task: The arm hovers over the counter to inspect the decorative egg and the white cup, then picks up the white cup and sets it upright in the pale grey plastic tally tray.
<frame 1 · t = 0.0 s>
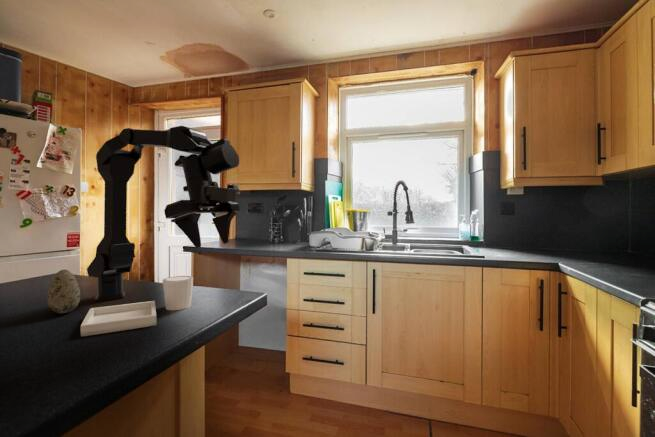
hand: (213, 245, 77), 15 cm above the countertop, tool pointing down, fingers open, 9 cm apart
decorative egg: (64, 313, 77), on the countertop
white cup: (178, 307, 81), on the countertop
tally tray: (122, 321, 71), on the countertop
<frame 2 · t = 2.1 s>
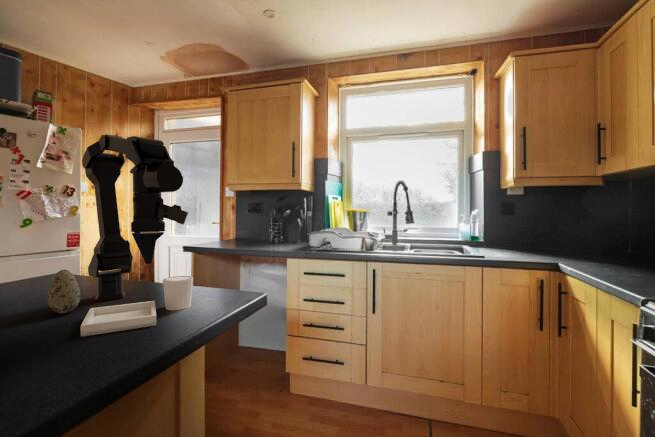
hand: (148, 260, 77), 12 cm above the countertop, tool pointing down, fingers open, 9 cm apart
nothing on the countertop moved.
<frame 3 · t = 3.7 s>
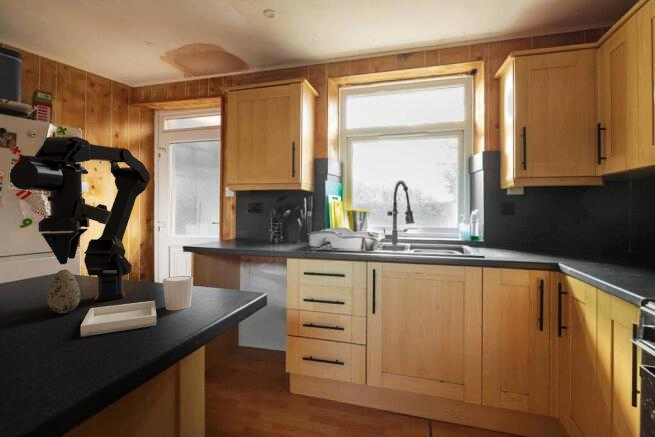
hand: (67, 261, 76), 12 cm above the countertop, tool pointing down, fingers open, 9 cm apart
nothing on the countertop moved.
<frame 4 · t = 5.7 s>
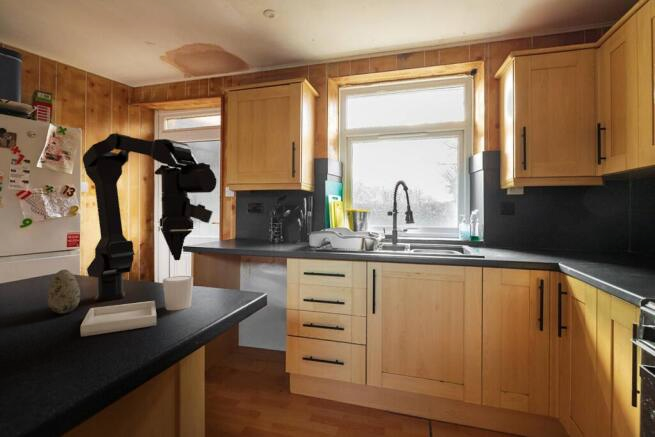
hand: (175, 257, 81), 12 cm above the countertop, tool pointing down, fingers open, 9 cm apart
nothing on the countertop moved.
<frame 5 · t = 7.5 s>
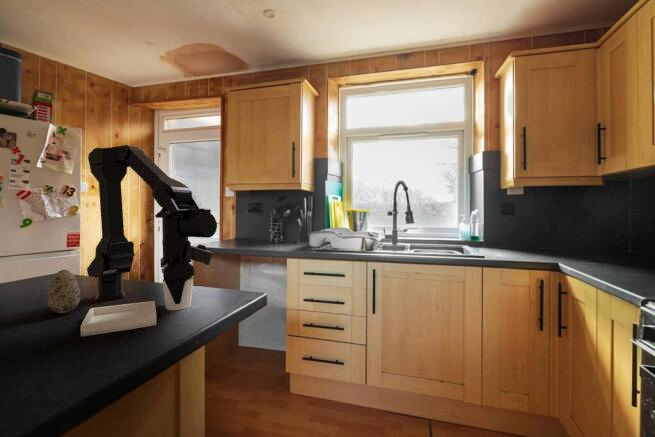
hand: (176, 300, 81), 2 cm above the countertop, tool pointing down, fingers open, 7 cm apart
white cup: (178, 307, 81), on the countertop, touching gripper
everything else where it was.
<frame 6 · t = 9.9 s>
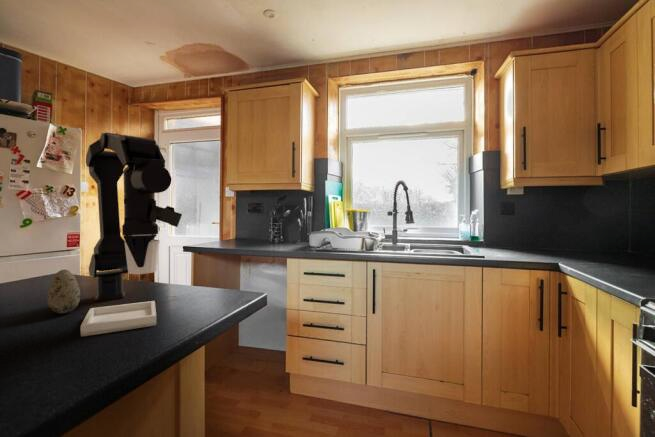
hand: (140, 264, 74), 11 cm above the countertop, tool pointing down, fingers closed on white cup, 6 cm apart
white cup: (142, 272, 74), point 10 cm above the countertop, touching gripper
everything else where it was.
when the fingers open (4 cm above the countertop, at t = 12.1 s): white cup drops 1 cm, resting on tally tray.
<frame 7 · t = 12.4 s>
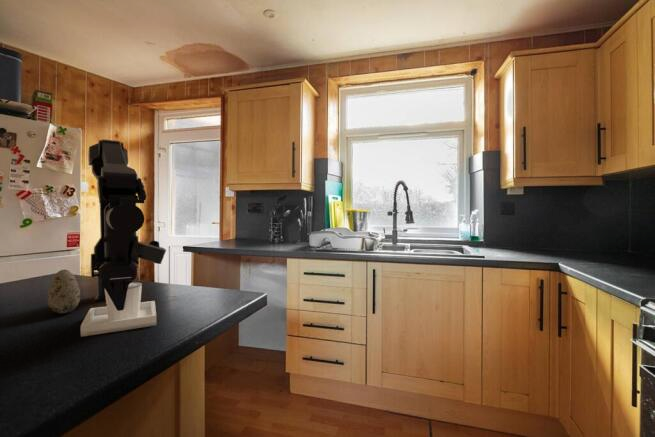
hand: (121, 304, 71), 4 cm above the countertop, tool pointing down, fingers open, 9 cm apart
white cup: (124, 318, 71), resting on tally tray
everything else where it was.
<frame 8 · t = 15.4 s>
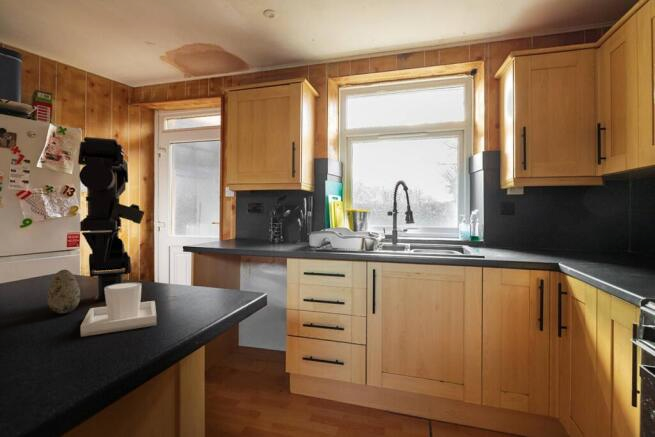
hand: (103, 260, 77), 12 cm above the countertop, tool pointing down, fingers open, 9 cm apart
nothing on the countertop moved.
at the end: white cup 0.4 cm off-centre on the tally tray, point 0.4 cm above the tally tray's base; white cup tilted 0°; decorative egg moved 0.2 cm from its start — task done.
